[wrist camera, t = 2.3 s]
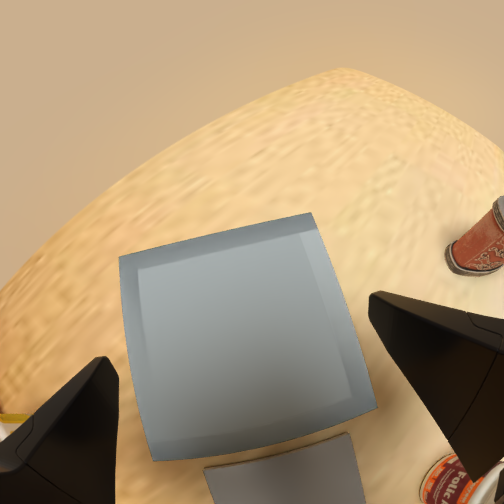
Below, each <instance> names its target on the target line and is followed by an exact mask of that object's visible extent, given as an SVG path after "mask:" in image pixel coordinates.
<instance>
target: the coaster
mask: <svg viewBox="0 0 504 504" xmlns="http://www.w3.org/2000/svg"><path fill="white" fill-rule="evenodd" d="M203 472H204V475H205V478H206V481H207V484H208V486H209V489H210V492H211V495H212V497H213V500H214V503H215V504H366V501H365V497H364V492H363V487H362V483H361V478H360V474H359V470H358V465H357V461H356V457H355V453H354V449H353V445H352V441H351V437H350V433H348V432H346V433H343V434H341V435H338V436H335V437H333V438H330V439H327V440H324V441H321V442H318V443H315V444H312V445H309V446H306V447H303V448H299V449H296V450H292V451H289V452H285V453H281V454H278V455H274V456H269V457H265V458H261V459H256V460H251V461H246V462H241V463H235V464H229V465H223V466H216V467H208V468H204V469H203Z"/></svg>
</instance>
